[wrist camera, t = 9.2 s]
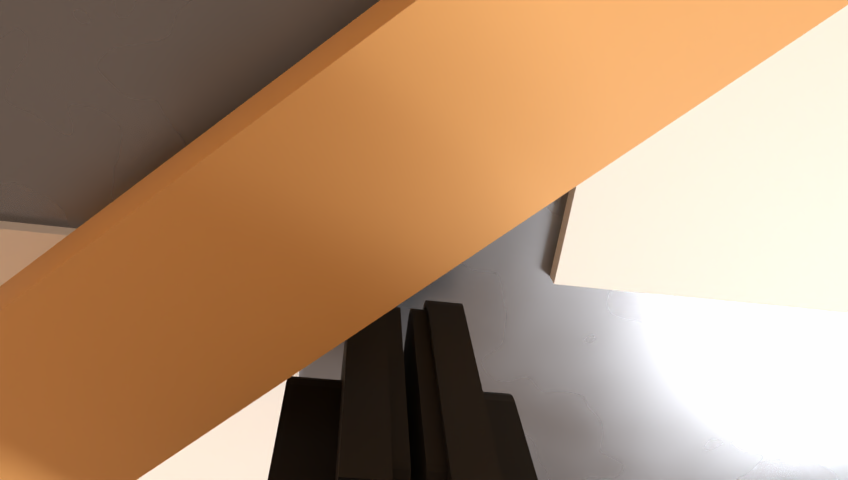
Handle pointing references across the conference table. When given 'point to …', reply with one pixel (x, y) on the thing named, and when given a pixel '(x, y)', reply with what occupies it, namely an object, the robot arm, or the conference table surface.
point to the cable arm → (340, 207)
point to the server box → (466, 283)
